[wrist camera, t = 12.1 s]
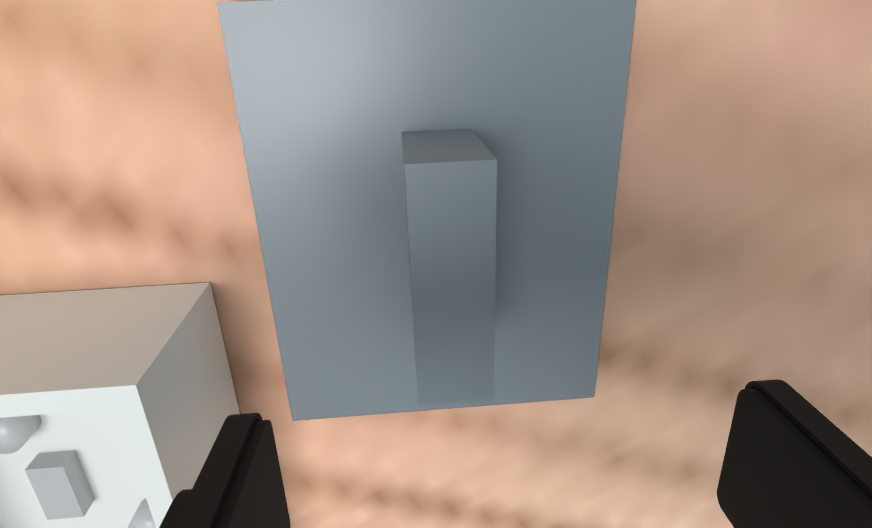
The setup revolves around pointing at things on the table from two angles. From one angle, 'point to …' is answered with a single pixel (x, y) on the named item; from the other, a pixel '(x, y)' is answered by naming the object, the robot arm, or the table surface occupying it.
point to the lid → (432, 193)
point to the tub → (107, 403)
